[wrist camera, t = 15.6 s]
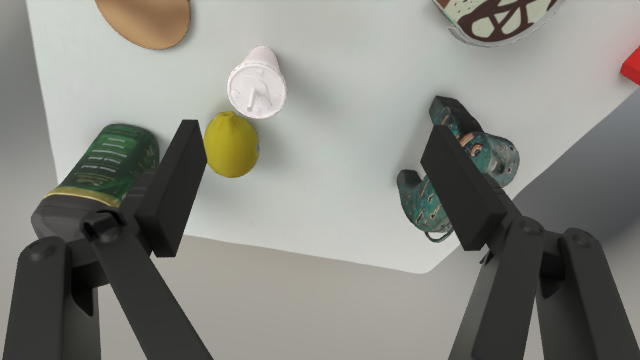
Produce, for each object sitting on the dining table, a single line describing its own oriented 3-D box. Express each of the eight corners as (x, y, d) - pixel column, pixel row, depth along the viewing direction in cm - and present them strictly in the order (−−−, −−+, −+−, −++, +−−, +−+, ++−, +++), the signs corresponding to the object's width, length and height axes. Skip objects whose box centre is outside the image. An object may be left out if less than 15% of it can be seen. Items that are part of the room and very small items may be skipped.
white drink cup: (264, 23, 36) (255, 67, 26) (297, 65, 40) (300, 118, 29) (227, 55, 38) (204, 108, 28) (261, 92, 42) (253, 151, 32)
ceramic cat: (434, 82, 43) (511, 171, 28) (473, 90, 44) (566, 178, 29) (386, 182, 56) (421, 280, 41) (417, 186, 57) (462, 281, 42)
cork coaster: (75, -57, 30) (72, -57, 29) (178, -51, 31) (177, -50, 30) (115, 46, 36) (113, 48, 36) (199, 49, 37) (198, 50, 37)
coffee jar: (99, 116, 42) (8, 213, 29) (160, 128, 44) (102, 225, 31) (108, 166, 48) (37, 267, 35) (161, 175, 50) (113, 274, 37)
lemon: (256, 161, 50) (252, 195, 44) (207, 153, 48) (196, 187, 42) (267, 105, 43) (263, 135, 37) (211, 92, 41) (198, 122, 35)
